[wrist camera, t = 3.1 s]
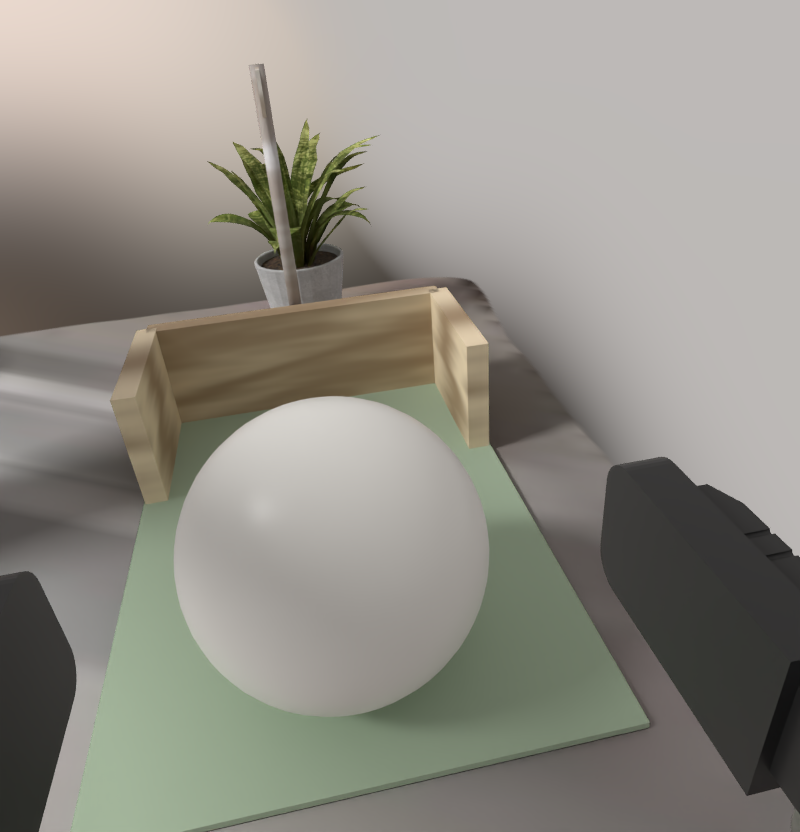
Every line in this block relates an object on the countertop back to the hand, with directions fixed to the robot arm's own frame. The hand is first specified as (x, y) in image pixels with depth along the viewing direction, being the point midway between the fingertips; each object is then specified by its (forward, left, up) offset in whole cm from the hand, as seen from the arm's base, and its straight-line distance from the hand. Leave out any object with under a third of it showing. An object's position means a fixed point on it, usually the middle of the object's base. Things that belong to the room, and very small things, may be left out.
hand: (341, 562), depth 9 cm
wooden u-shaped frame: (+15, +25, -15) cm, 33 cm away
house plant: (+23, +38, -16) cm, 47 cm away
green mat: (+10, +17, -15) cm, 25 cm away
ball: (+6, +10, -10) cm, 15 cm away
